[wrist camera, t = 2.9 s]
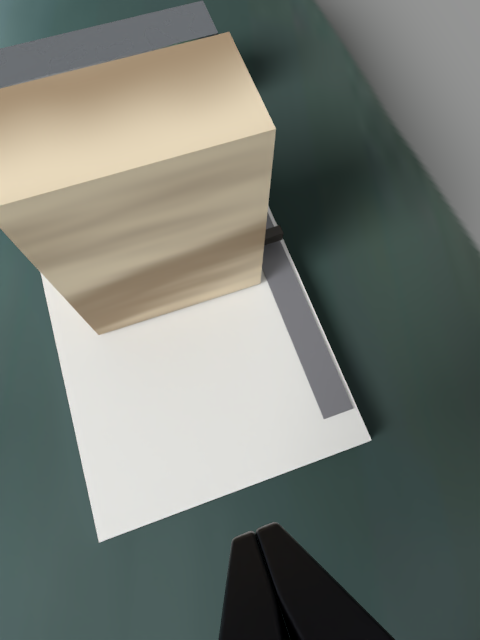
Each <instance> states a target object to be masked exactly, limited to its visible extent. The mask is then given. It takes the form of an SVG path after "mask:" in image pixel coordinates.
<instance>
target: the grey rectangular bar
mask: <svg viewBox="0 0 480 640" xmlns="http://www.w3.org/2000/svg"><path fill="white" fill-rule="evenodd" d="M214 35H218V32H217V30H216V28H215V25H214V23H213V21H212V19H211V17H210V15H209V13H208V10H207V8H206V6H205V4H204V2H203V1H199V2H195V3H191V4H187V5H182V6H178V7H174V8H170V9H165V10H161V11H157V12H153V13H149V14H144V15H140V16H136V17H132V18H128V19H123V20H119V21H115V22H111V23H107V24H102V25H98V26H94V27H90V28H85V29H81V30H77V31H73V32H69V33H64V34H60V35H56V36H52V37H48V38H43V39H39V40H35V41H31V42H27V43H22V44H18V45H14V46H10V47H5V48H1V49H0V88H5V87H9V86H13V85H17V84H21V83H25V82H29V81H33V80H37V79H41V78H45V77H49V76H53V75H57V74H61V73H65V72H69V71H73V70H77V69H81V68H85V67H89V66H93V65H97V64H101V63H105V62H109V61H113V60H118V59H122V58H126V57H130V56H134V55H138V54H142V53H146V52H150V51H154V50H158V49H162V48H166V47H170V46H174V45H178V44H182V43H186V42H190V41H194V40H198V39H202V38H206V37H210V36H214Z"/></svg>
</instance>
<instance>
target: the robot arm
mask: <svg viewBox="0 0 480 640" xmlns="http://www.w3.org/2000/svg"><path fill="white" fill-rule="evenodd" d="M256 536H257V537H256ZM257 539H258V540H257ZM258 542H259V543H258ZM259 545H260V546H259ZM260 548H261V549H260ZM261 551H262V552H261ZM262 554H263V555H262ZM263 557H264V558H263ZM264 560H265V561H264ZM265 563H266V564H265ZM266 566H267V567H266ZM267 569H268V570H267ZM281 612H282V613H281ZM282 615H283V616H282ZM283 618H284V619H283ZM284 621H285V622H284ZM285 624H286V625H285ZM286 627H287V628H286ZM287 630H288V631H287ZM288 633H289V634H288ZM289 636H290V637H289ZM290 639H291V640H395V639H394V638H393V637H392V636H391V635H390V634H389V633H388V632H387V631H386V630H385V629H384V628H383V627H382V626H381V625H380V624H379V623H378V622H377V621H376V620H375V619H374V618H373V617H372V616H371V615H370V614H369V613H368V612H367V611H366V610H365V609H364V608H363V607H362V606H361V605H360V604H359V603H358V602H357V601H356V600H355V599H354V598H353V597H352V596H351V595H350V594H349V593H348V592H347V591H346V590H345V589H344V588H343V587H342V586H341V585H340V584H339V583H338V582H337V581H336V580H335V579H334V578H333V577H332V576H331V575H330V574H329V573H328V572H327V571H326V570H325V569H324V568H323V567H322V566H321V565H320V564H319V563H318V562H317V561H316V560H315V559H314V558H313V557H312V556H311V555H310V554H309V553H308V552H307V551H306V550H305V549H304V548H303V547H302V546H301V545H300V544H299V543H298V542H297V541H296V540H295V539H294V538H293V537H292V536H291V535H290V534H289V533H288V532H287V531H286V530H285V529H284V528H283V527H282V526H281V525H280V524H278V523H276V522H273V523H270V524H268V525H265V526H262V527H260V528H258V529H257V530H256V534H255V533H254V532H253V531H249V532H247V533H244V534H242V535H239V536H237V537H235V538H234V539H233V540H232V544H231V551H230V558H229V566H228V573H227V581H226V588H225V596H224V603H223V611H222V618H221V626H220V633H219V640H290Z"/></svg>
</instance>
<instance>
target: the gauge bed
mask: <svg viewBox="0 0 480 640" xmlns="http://www.w3.org/2000/svg"><path fill="white" fill-rule="evenodd" d="M275 226H277V224H276V222H275V220H274V217H273V215H272V213H271V210H270V208H269V206H268V212H267V222H266V229H268V228H272V227H275ZM41 277H42V281H43V286H44V290H45V295H46V300H47V304H48V309H49V314H50V318H51V323H52V327H53V332H54V337H55V341H56V346H57V350H58V355H59V360H60V364H61V369H62V374H63V378H64V383H65V387H66V392H67V397H68V401H69V406H70V411H71V415H72V420H73V424H74V429H75V434H76V438H77V443H78V448H79V452H80V457H81V461H82V466H83V471H84V475H85V480H86V484H87V489H88V494H89V498H90V503H91V508H92V512H93V517H94V521H95V526H96V531H97V535H98V540H99V542H102V541H104V540H107V539H110V538H112V537H115V536H118V535H120V534H123V533H126V532H128V531H131V530H134V529H136V528H139V527H142V526H144V525H147V524H150V523H152V522H155V521H158V520H160V519H163V518H166V517H168V516H171V515H174V514H176V513H179V512H182V511H184V510H187V509H190V508H192V507H195V506H198V505H200V504H203V503H206V502H208V501H211V500H214V499H216V498H219V497H222V496H224V495H227V494H230V493H232V492H235V491H238V490H240V489H243V488H246V487H248V486H251V485H254V484H256V483H259V482H262V481H264V480H267V479H270V478H272V477H275V476H278V475H280V474H283V473H286V472H288V471H291V470H294V469H296V468H299V467H302V466H304V465H307V464H310V463H312V462H315V461H318V460H320V459H323V458H326V457H328V456H331V455H334V454H336V453H339V452H342V451H344V450H347V449H350V448H352V447H355V446H358V445H360V444H363V443H366V442H368V441H371V438H370V435H369V433H368V431H367V429H366V426H365V424H364V422H363V419H362V417H361V415H360V413H359V410H358V408H357V406H356V404H355V401H354V399H353V397H352V394H351V392H350V390H349V388H348V385H347V383H346V381H345V379H344V376H343V374H342V372H341V369H340V367H339V365H338V363H337V360H336V358H335V356H334V354H333V351H332V349H331V347H330V344H329V342H328V340H327V338H326V335H325V333H324V331H323V329H322V326H321V324H320V322H319V319H318V317H317V315H316V313H315V310H314V308H313V306H312V304H311V301H310V299H309V297H308V294H307V292H306V290H305V288H304V285H303V283H302V281H301V279H300V276H299V274H298V272H297V269H296V267H295V265H294V263H293V260H292V258H291V256H290V254H289V251H288V249H287V247H286V244H285V242H284V240H280V241H277V242H274V243H271V244H267V245H264V252H263V262H262V272H261V282H260V284H257V285H254V286H251V287H248V288H245V289H242V290H239V291H235V292H232V293H229V294H226V295H223V296H220V297H217V298H214V299H210V300H207V301H204V302H201V303H198V304H195V305H192V306H188V307H185V308H182V309H179V310H176V311H173V312H170V313H167V314H163V315H160V316H157V317H154V318H151V319H148V320H145V321H142V322H138V323H135V324H132V325H129V326H126V327H123V328H120V329H117V330H113V331H110V332H107V333H104V334H101V335H98V334H97V333H96V332H95V331H94V330H93V329H92V328H91V326H90V325H89V324H88V323H87V322H86V321H85V320H84V319H83V318H82V317H81V316H80V315H79V313H78V312H77V311H76V310H75V309H74V308H73V307H72V306H71V305H70V304H69V303H68V301H67V300H66V299H65V298H64V297H63V296H62V295H61V294H60V293H59V292H58V291H57V290H56V288H55V287H54V286H53V285H52V284H51V283H50V282H49V281H48V280H47V279H46V278H45V276H44V275H43V274H42V273H41Z"/></svg>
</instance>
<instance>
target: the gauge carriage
mask: <svg viewBox="0 0 480 640" xmlns="http://www.w3.org/2000/svg"><path fill="white" fill-rule="evenodd" d="M275 133H276V128H275V126H274V124H273V122H272V120H271V118H270V116H269V114H268V111H267V109H266V107H265V105H264V103H263V101H262V99H261V97H260V95H259V93H258V91H257V89H256V87H255V84H254V82H253V80H252V78H251V76H250V74H249V72H248V70H247V68H246V66H245V64H244V62H243V59H242V57H241V55H240V53H239V51H238V49H237V47H236V45H235V43H234V41H233V39H232V37H231V35H230V32H226V33H222V34H218V35H214V36H210V37H206V38H202V39H198V40H194V41H190V42H186V43H182V44H178V45H174V46H170V47H166V48H162V49H158V50H154V51H150V52H146V53H142V54H138V55H134V56H130V57H126V58H122V59H118V60H113V61H109V62H105V63H101V64H97V65H93V66H89V67H85V68H81V69H77V70H73V71H69V72H65V73H61V74H57V75H53V76H49V77H45V78H41V79H37V80H33V81H29V82H25V83H21V84H17V85H13V86H9V87H5V88H0V229H1V230H2V231H3V232H4V233H5V234H6V235H7V236H8V237H9V238H10V239H11V241H12V242H13V243H14V244H15V245H16V246H17V247H18V248H19V249H20V250H21V251H22V253H23V254H24V255H25V256H26V257H27V258H28V259H29V260H30V261H31V262H32V263H33V265H34V266H35V267H36V268H37V269H38V270H39V271H40V272H41V273H42V274H43V275H44V276H45V278H46V279H47V280H48V281H49V282H50V283H51V284H52V285H53V286H54V287H55V288H56V290H57V291H58V292H59V293H60V294H61V295H62V296H63V297H64V298H65V299H66V300H67V301H68V303H69V304H70V305H71V306H72V307H73V308H74V309H75V310H76V311H77V312H78V313H79V315H80V316H81V317H82V318H83V319H84V320H85V321H86V322H87V323H88V324H89V325H90V326H91V328H92V329H93V330H94V331H95V332H96V333H97V334H98V335H101V334H104V333H107V332H110V331H113V330H117V329H120V328H123V327H126V326H129V325H132V324H135V323H138V322H142V321H145V320H148V319H151V318H154V317H157V316H160V315H163V314H167V313H170V312H173V311H176V310H179V309H182V308H185V307H188V306H192V305H195V304H198V303H201V302H204V301H207V300H210V299H214V298H217V297H220V296H223V295H226V294H229V293H232V292H235V291H239V290H242V289H245V288H248V287H251V286H254V285H257V284H260V282H261V272H262V262H263V252H264V245H267V244H271V243H274V242H277V241H280V240H283V234H284V233H283V231H282V229H281V227H280V225H278V226H275V227H272V228H268V229H266V222H267V212H268V202H269V192H270V183H271V173H272V163H273V153H274V143H275Z"/></svg>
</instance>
